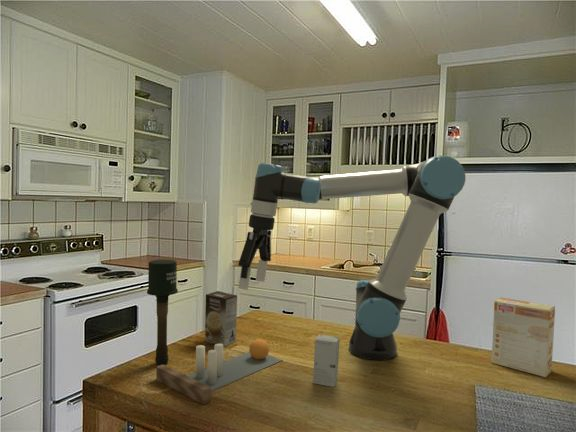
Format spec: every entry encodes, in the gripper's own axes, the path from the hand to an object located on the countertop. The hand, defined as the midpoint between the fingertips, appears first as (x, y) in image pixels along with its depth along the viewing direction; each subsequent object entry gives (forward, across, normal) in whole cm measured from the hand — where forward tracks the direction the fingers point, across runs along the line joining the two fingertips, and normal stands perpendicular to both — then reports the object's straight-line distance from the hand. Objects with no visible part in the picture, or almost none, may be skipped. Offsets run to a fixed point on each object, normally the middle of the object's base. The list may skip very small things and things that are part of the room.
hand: (251, 284), depth 130 cm
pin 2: (+23, +19, 0) cm, 30 cm away
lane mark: (+23, +9, +2) cm, 25 cm away
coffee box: (+24, -10, -12) cm, 29 cm away
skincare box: (+19, +8, +28) cm, 35 cm away
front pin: (+23, +14, 0) cm, 27 cm away
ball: (+19, 0, +5) cm, 20 cm away
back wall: (+24, +25, -5) cm, 35 cm away
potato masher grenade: (+26, +13, -19) cm, 35 cm away
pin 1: (+24, +17, -4) cm, 30 cm away
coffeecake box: (+12, -23, +81) cm, 85 cm away
